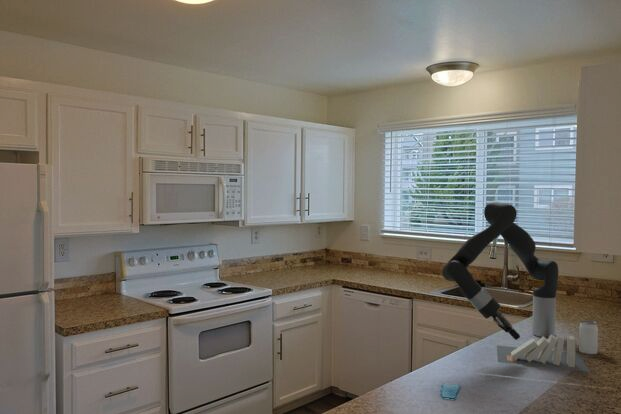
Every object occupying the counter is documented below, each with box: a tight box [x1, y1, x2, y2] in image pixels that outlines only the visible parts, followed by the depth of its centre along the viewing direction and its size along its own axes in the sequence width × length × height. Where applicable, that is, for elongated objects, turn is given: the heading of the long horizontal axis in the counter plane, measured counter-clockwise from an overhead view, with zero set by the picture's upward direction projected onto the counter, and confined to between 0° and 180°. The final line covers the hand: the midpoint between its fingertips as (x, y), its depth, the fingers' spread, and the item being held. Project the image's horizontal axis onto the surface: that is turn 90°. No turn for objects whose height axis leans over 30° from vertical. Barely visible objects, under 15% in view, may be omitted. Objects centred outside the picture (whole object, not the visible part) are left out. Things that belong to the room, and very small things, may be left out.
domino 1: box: [511, 337, 538, 360], centre depth 193 cm, size 5×2×10 cm
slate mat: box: [496, 344, 590, 373], centre depth 196 cm, size 22×30×1 cm
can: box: [578, 320, 599, 355], centre depth 204 cm, size 6×6×12 cm
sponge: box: [440, 383, 461, 400], centre depth 162 cm, size 2×12×6 cm
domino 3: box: [538, 334, 558, 364], centre depth 190 cm, size 5×2×10 cm, turn 161°
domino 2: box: [525, 336, 549, 362], centre depth 191 cm, size 5×2×10 cm
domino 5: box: [566, 334, 576, 367], centre depth 188 cm, size 5×2×10 cm, turn 161°
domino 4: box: [552, 333, 565, 365], centre depth 189 cm, size 5×2×10 cm, turn 161°
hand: (518, 338), depth 193 cm, fingers closed
